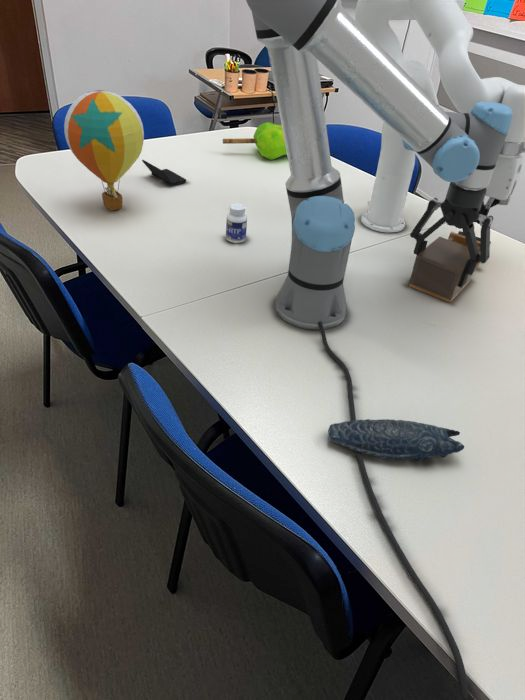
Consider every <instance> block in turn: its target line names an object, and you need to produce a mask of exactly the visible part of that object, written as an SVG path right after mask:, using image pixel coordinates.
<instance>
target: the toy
mask: <svg viewBox="0 0 525 700" xmlns="http://www.w3.org/2000/svg"><path fill="white" fill-rule="evenodd" d="M63 128H64V130H63V131H64V132H63V133H64V137H65V141H66V144H67V146H68V148H69V150H70V151H71V152H72V154H73V156H75V158H76V159H77V161H78V162H80V163H81V165H83V166H84V167H85V168H86V169H87V170H88V171H90V172H91V173H92V174H93V175H94V176H96V177H97V178H98V179H100V180H101V183H102V184H101V185H102V187H103V191H102V193H101V198H102V203H103V205H104V207H105V208H106V209H108V210H109V211H110V212H113V211H118V210H121V209H122V208H123V203H124V201H123V195H122V194H121V193H120V192H119V191H118V190H119V188H120V183H118V182H120V181H121V178H122V177H123V176H124V175H125V174H126V173H127V172H128V171H129V170H130V169H131V167H133V165H134V164H135V163H136V161H137V160H138V159H139V158H140V155H141V153H142V150H143V147H144V141H145V131H144V130H145V129H144V125H143V121H142V119H141V116H140V114H139V113H138V111H137V109H136V108H134V106H133V105H132V103H130V102H129V101H128V100H127V99H126V98H124V97H123V96H122V95H119V94H117V93H115V92H112V91H109V90H102V89H101V90H100V89H98V90H92V91H87V92H85V93H82V95H79V96H78V97H77V98H76V99H75V100H73V102H72V103H71V105H70V107H69V108H68V111H67V112H66V114H65V118H64V124H63ZM104 183H105V184H106V185H107V186H106V187H105V186H104ZM115 183H118V185H117V190H116V188H115Z"/></svg>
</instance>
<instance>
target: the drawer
mask: <svg viewBox="0 0 525 700" xmlns="http://www.w3.org/2000/svg"><path fill="white" fill-rule="evenodd" d="M447 239H448V240H451V241H454V242H456V243H459V244H462V245H465V246H467V242H466V238H465V234H464V233H463V230H458V232H454V231H451V232H450V233H449V236H448V238H447ZM476 240H477V244H478V248H479V251H480V241H481V237H479V236H476ZM490 244H492V241H491V240H490ZM480 265H481V262H479V263H478V264H477V267H476V269H478V268H479V267H480Z"/></svg>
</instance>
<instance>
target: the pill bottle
mask: <svg viewBox="0 0 525 700" xmlns="http://www.w3.org/2000/svg"><path fill="white" fill-rule="evenodd" d="M225 222H226V226H225V239H226V240H227V241H228V242H231V243H235V244H238V243H243V242H245V241H246V238H247V227H248V216H247V214H246V206H245V205H244V204H243V203H231V204H230V205H229V212H228V213H227V214H226V221H225Z"/></svg>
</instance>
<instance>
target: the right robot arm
mask: <svg viewBox="0 0 525 700" xmlns="http://www.w3.org/2000/svg"><path fill="white" fill-rule="evenodd" d="M465 3H466V0H357V2H356V6H355V13H354V20H355V21H356V22H357V23H358V24H359V25H360V26H361V27H362V28H363V29H364V30H365V31H366V32H367V33H368V34H369V35H370V36H371V37H372V38H373V39H374V40H375V41H376V42H377V43H378V44H379V45H380V46H381V47H382V48H383V49H384V50H385V51H386V52H387V53H388V54H389V55H390V56H391V57H392V59H393V60H394V61H395V62H396V63H397V64H398V65H399V66H400V67H401V68H402V69H403V70H404V71H405V72H406V73H407V74H408V75H409V76H410V77H411V78H412V79H413V80H414V81H415V82H416V83H417V84H418V85H419V86H420V87H421V88H422V89H423V90H424V91H425V92H426V93H427V94H428V95H429V96H430V97H431V98H432V99H433V100H434V101H435V102H436V103H437V104H438V105H439V106H440V103H439V99H438V96H437V93H436V90H435V86H434V82H433V79H432V75H431V73H430V71H429V69H428V68H427V67H426V66H425V64H424V63H422V62H420V61H418V60H417V61H415V60H407V61H406V59H405V57H404V54H403V50H402V47H401V43H400V40H399V38H398V36H397V35H396V33H395V31H394V30H393V28H392V27H391V25H390V21H416V23H417V24H418V26H419V27H420V29H421V32H423V35H424V36H425V38H426V39H427V41H428V42H429V44H430V45H431V47H432V49H433V50H434V52H435V54H436V55H437V56H436V57H438V58H437V59H438V71H439V76H440V82H441V85H442V87H443V89H444V91H445V93H446V95H447V96H448V98H449V99H450V101H451V103H452V104H453V106H454V107H455V109H456V110H457V111H458V113H471V110H472V109H473V107H474V105H475V104H476V103H477V102H485V101H488V102H496V103H500V104H504V105H506V106H508V107H509V108H511V109H512V112H513V116H512V119H511V124H510V127H509V130H508V135H507V136H506V138H505V141H504V144H503V146H502V149H501V152H500V154H499V157H498V159H497V162H496V166H495V169H494V172H493V175H492V177H491V180H490V183H489V186H488V187H486V189H487V191H486V194H485V197H488V200H487V201H486V203H485V197H484V200H483V203H482V205H481V208H480V212H481V214H482V215H485V216H489V212H490V209H492V208H493V207H495V206H498V205H499V206H508V205H510V203H511V196H512V195H513V193H514V192H515V189H516V187H517V184H518V180H519V177H520V173H521V170H522V167H523V161H524V155H523V153H524V154H525V85H524V84H518V83H515V82H513V81H511V80H508V79H507V78H504V77H500V76H492V77H484V78H481V77H480V75H479V74H478V73H477V70H476V69H475V67H474V66H473V64H472V61H471V60H470V56H469V51H468V50H469V49H468V47H469V43H470V42H471V40H472V39H473V36H474V28H473V26H472V25H471V23H470V21H469V20H468V19H467V17H466V15H465V14H464V12H463V9H464V6H465ZM379 152H380V153H379V158H378V163H377V169H376V173H375V178H374V183H373V187H372V191H371V197H370V200H368V201H367V205H368V211H366V212H363V213H362V215H361V218H360V221H361V223H362V225H364V226H365V227H366V228H368V229H370V230H373V231H375V232H381V233H389V234H390V233H398V232H401V231H403V230H404V229H405V226H406V221H405V220H404V218H402V216H403V212H404V207H405V204H406V200H407V196H408V192H409V188H410V186H411V181H412V177H413V172H414V169H415V165H416V152H415V151H412V150H407V149H405V148H404V146H403V139H402V138H401V137H400V136H399V135H398V134H397V133H396V132H395V131H394V130H392V129H391V128H390V127H389V126H388V125H387V124H386V123H385V122H384V121H383V124H382V127H381V143H380V151H379ZM474 223H476V224H478V225H480V221H479V220H478V219H477V220H476V221H475V222H474Z"/></svg>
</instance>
